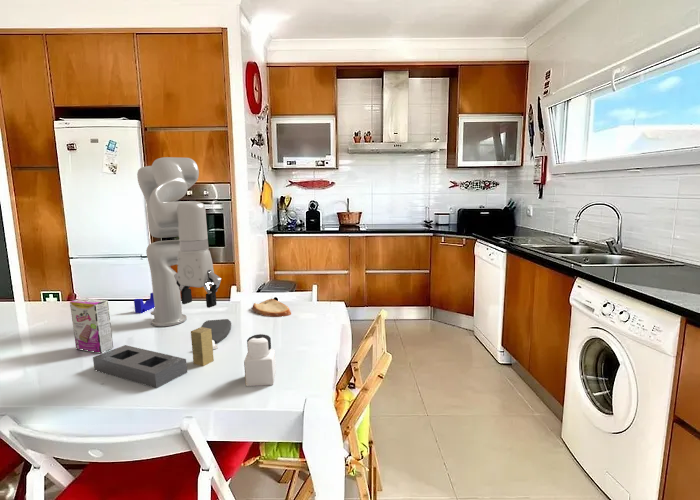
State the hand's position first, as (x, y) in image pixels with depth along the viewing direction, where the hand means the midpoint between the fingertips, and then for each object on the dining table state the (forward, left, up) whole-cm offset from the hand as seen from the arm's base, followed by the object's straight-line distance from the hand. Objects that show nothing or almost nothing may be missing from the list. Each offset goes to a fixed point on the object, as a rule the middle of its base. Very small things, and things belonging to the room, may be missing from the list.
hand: (199, 304), depth 120 cm
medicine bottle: (+23, -2, -18) cm, 29 cm away
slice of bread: (-14, +51, -18) cm, 56 cm away
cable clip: (-67, +31, -18) cm, 76 cm away
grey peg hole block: (-12, -12, -18) cm, 25 cm away
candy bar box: (-41, -7, -18) cm, 45 cm away
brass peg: (0, 0, -18) cm, 18 cm away
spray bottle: (-13, +17, -18) cm, 28 cm away
